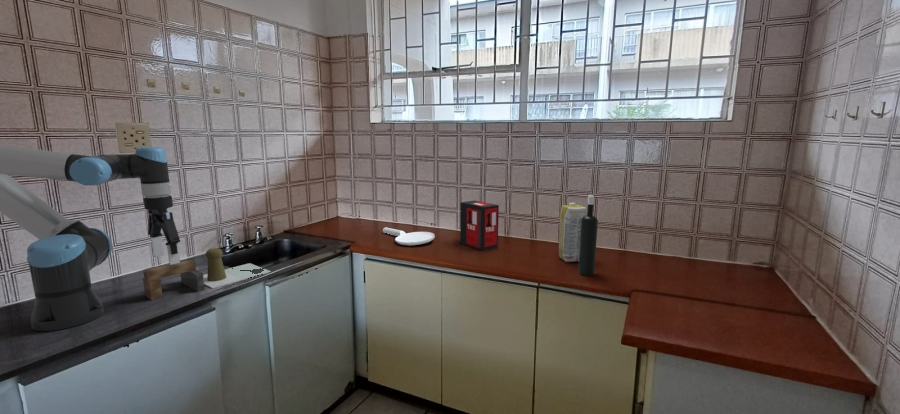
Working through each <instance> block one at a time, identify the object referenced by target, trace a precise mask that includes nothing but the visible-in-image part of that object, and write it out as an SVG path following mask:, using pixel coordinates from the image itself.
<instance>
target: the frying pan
mask: <svg viewBox="0 0 900 414" xmlns="http://www.w3.org/2000/svg"><path fill="white" fill-rule="evenodd" d="M382 232H383V234H385V233H387V234H386V235H389V234H390V235H389V236H395V242H396V243H397V244H399V245H402V246H416V245H423V244H427V243H430V242H431V241H432V240H434V239H435V237H436V236H435V233H433V232H430V231H413V232H408V233H407V232H405V231H404V230H400V229H395V228H390V227H384V228H383V229H382Z"/></svg>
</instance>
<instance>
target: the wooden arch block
mask: <svg viewBox="0 0 900 414" xmlns="http://www.w3.org/2000/svg"><path fill="white" fill-rule="evenodd" d="M176 275H180V281H181V284H184V285H185V286H187V287H189V288H191V289H192V290H194V291H196V292H198V293H199V292H202V291H205V289H206V288H205V285H204V279H203V275H204V273H203V272H202V271H199V270H197V268H196V261H195V260H193V259H189V260H184V261H180V263H176V264H172V265H170V264H166V265H161V266H157V267H153V268H152V267H151V268H149V269H143V277H142V283H143V290H144V296H145V297H146V298H147V299H149V300H150V301H154V300H158V299H161V298H163V291H162V290H163V289H162V283H161V281H162V280H161V279H162V278H163V279H164V278H167V277H171V276H176Z"/></svg>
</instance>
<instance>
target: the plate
mask: <svg viewBox="0 0 900 414" xmlns="http://www.w3.org/2000/svg"><path fill="white" fill-rule="evenodd" d="M232 268H233V269H232ZM260 268H261V269H262V268H263V267H260V266H258V265H255V264H253V263H250V262H249V263H245V264H241V265H237V266H234V267H229V268H226V269H225V268H224V270H225V274H226V278H225V279H223V280H220V281H208V280H207V276H208V273H205V274H203V279H204V286H206V287H208V288H209V289H212V290H213V289H217V288H220V287H223V286H227V285H231V284H234V283H238V282H241V280H242V281H245V280H248V278H249V279H251V278H250V277H252V278H255V277H254V276H256V277H258V276H257V275H259V276H262V275H261V274H263V275H265V274H269V272H270V273H271V272H272V271H271V270H269V269H266V268H264V269H263V270H264V271H262V272H261V273H258V274H254V273H253V274H252V272H250V271H240V270H251V271H252V270H253V269H260Z"/></svg>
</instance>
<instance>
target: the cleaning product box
mask: <svg viewBox="0 0 900 414" xmlns="http://www.w3.org/2000/svg"><path fill="white" fill-rule="evenodd" d="M459 206H460V208H459V210H460V211H459V213H460V214H459V215H460V216H459V217H460V220H459V221H460V224H459V225H460V229H459V231H460V233H459V241H460V242H459V244H462V245H464V246H466V247H470V248H474V249H476V250H480V251H483V252H484V251H489V250H493V249H497V248H498V247H499V206H500V205H499V204H494V203H490V202H485V201H480V200H469V201H460V204H459Z"/></svg>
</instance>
